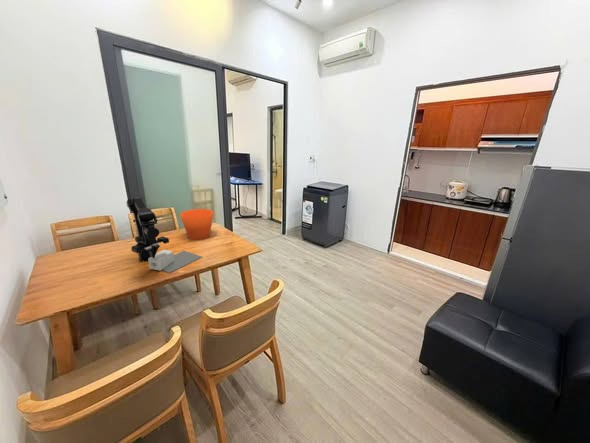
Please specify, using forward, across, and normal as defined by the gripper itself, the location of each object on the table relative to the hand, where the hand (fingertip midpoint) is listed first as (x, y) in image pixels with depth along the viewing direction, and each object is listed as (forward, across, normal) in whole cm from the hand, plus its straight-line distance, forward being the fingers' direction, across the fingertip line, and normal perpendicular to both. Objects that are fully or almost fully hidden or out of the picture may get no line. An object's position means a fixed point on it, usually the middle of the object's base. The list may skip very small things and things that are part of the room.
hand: (153, 257), depth 139 cm
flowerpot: (+9, -52, -23) cm, 57 cm away
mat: (+9, -15, 0) cm, 17 cm away
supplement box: (+5, 0, -1) cm, 5 cm away
